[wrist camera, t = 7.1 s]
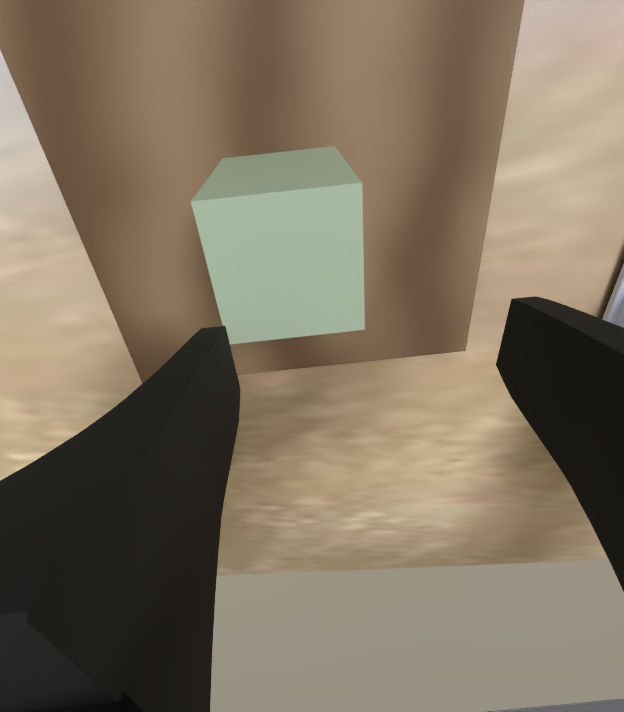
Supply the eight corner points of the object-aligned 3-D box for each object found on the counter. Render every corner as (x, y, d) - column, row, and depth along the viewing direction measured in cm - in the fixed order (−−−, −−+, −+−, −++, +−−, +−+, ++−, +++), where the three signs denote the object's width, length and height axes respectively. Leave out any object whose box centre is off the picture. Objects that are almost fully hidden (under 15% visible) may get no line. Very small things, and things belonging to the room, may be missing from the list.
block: (334, 145, 14) (362, 182, 9) (340, 254, 16) (364, 329, 12) (222, 158, 14) (190, 201, 9) (243, 264, 16) (227, 344, 12)
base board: (513, -119, 12) (549, -150, 10) (451, 329, 21) (465, 350, 20) (-12, -65, 12) (-58, -87, 10) (154, 360, 21) (143, 384, 20)
